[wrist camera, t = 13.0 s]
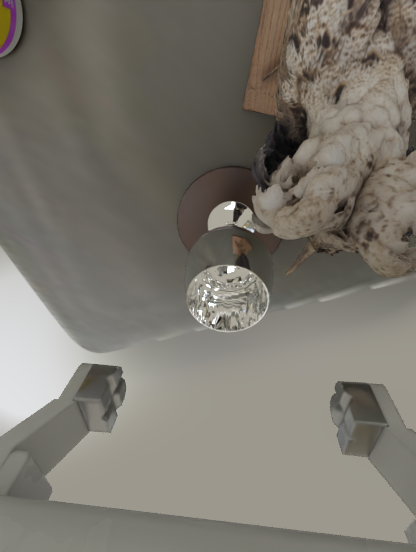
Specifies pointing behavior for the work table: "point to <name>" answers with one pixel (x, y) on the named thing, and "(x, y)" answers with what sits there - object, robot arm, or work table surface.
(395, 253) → the stuffed bird
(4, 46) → the supplement bottle
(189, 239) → the coaster
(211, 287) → the wineglass
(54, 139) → the work table surface
